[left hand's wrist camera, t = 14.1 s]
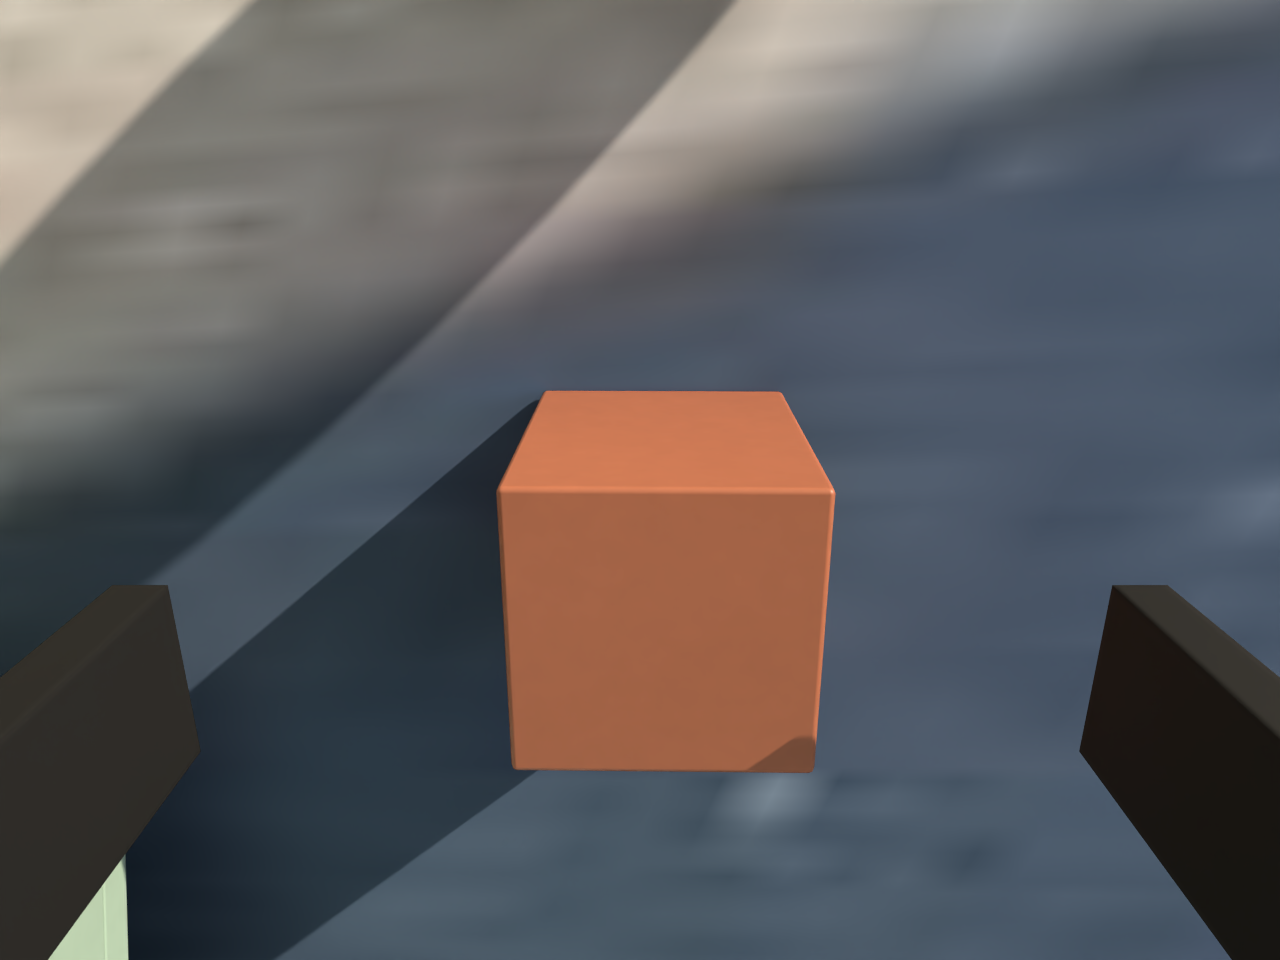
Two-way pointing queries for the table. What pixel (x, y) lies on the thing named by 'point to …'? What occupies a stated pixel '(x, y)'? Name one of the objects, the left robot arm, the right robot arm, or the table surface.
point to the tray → (100, 924)
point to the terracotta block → (664, 583)
